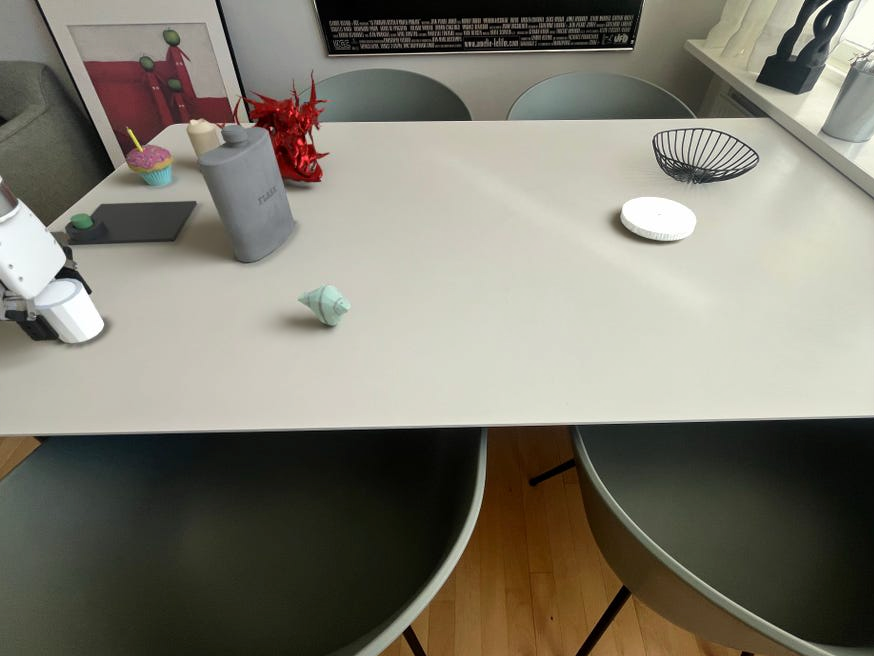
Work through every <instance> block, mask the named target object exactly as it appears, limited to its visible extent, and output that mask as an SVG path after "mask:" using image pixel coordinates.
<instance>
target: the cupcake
mask: <svg viewBox="0 0 874 656" xmlns="http://www.w3.org/2000/svg"><path fill="white" fill-rule="evenodd" d="M125 128H126V131H127V133H128V135H129V137H130V139H131V140H132V141H133V143H134V144H135V146H136V147H135V148H132V149H131V150H130V151H129V152H128V153H127V154H126V158H125V163H126V164H127V166H128V168H129V170H130V171H131V172H133V173H137V174H138V175H139V176H140V177H141V178H142V179H143V180H144V181H145V183H147V184H148V186H149V185H150V186H162V185H166V184H168V183H170V182H171V181H172V179H173V177H172V166H173V165H172V164H173V163H174V158H173V156H172V154H171V152H170V150H168V149H167V148H166V147H161V146H160V145H159V146H158V145H156V144H155V145H154V144H144V145H140V143H139V141H138V139H137V138H136V136H135V134H134V133H133V131H132V130H131V129H130V128H129V127H128V126H125Z"/></svg>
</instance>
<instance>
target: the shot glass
mask: <svg viewBox="0 0 874 656" xmlns="http://www.w3.org/2000/svg"><path fill="white" fill-rule="evenodd" d="M34 302H35V309H36V315H42V316H44V318H45V319H46V320H47V321H48V322H49V323H50V325H51V326H52V327H53V328H54V329H55V330H56V332H57V333H58V334H59V338H58V339H59V340H60V341H62V342H64V343H67V344H78V343H83V342H85V341H88V340H90V339H92V338H94V337H96V336H97V335H99V333H101V332H102V330H103V328H104V326H105V323H104V321H103V319H102V316H101V314H100V313H99V312H98V309H97V307H96V306H95V304H94V303H93V301H92V299H91V297H90V295H88V294H87V292H86V290H85V288H84V286H83V285H82V283H81V282H80V281H78V280H76V279H69V278H66V279H57V280H56V279H52V280H51V281H50V282H49V283H48V285H47V286H46V287H45V288H44V289H43V290H42V291H41V293H40V294H39V295H38V296H37V297H35V298H34Z"/></svg>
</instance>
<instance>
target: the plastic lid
mask: <svg viewBox="0 0 874 656" xmlns="http://www.w3.org/2000/svg"><path fill="white" fill-rule="evenodd" d="M620 221H621V223H622V224H623V226H624V227H625V228H627V229H628V230H629V231H630V232H632V233H634V234H636V235H637V236H640V237H643V238H646V239H649V240H653V241H654V240H656V241H667V242H669V241H670V242H672V241H678V240H682V239H686V238H688V237H689V236H690V235H691V234H692V233H693V231H694V230H695V227H696V224H697V217H696V215H695V213H694V212H693V211H692V210H691V209H690V208H688V207H687V206H685V205H683V204H681V203H679V202H678V201H675V200H672V199H668V198H663V197H656V196H654V197H653V196H642V197H636V198H632V199H630V200H628V201H626V202H625V203H624V204H623V206H622V208H621V212H620Z"/></svg>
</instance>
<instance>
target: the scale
mask: <svg viewBox="0 0 874 656" xmlns="http://www.w3.org/2000/svg"><path fill="white" fill-rule="evenodd" d="M197 205H198V203H197V200H181V201H178V200H177V201H151V202H148V201H147V202H115V203H100V205H99V206H97V208H96V209H95V210H94V211H93V212H92V213H91V214H90V215H89V217H90V219H91V220H92V222H93V225H92V226H90V227H87V228H84V229H76V228H75V226H74V225H73V223H72V222H71V221H69V222H68V223H67V224H66V225H65V226H64V230H65V232H66V234H67V235H68V236H69V239H68V240H67V241H68V244H69V245H68V246H89V245H90V246H91V245H113V244H114V245H115V244H117V245H119V244H120V245H121V244H141V243H142V244H143V243H145V244H146V243H166V242H167V243H169V242H175V241H176V239H177V238H178V236H179V235H180V233H181V231H182V229H183V228H184V226H185V224H186V223H187V221H188V220H189V218H190V216H191V215H192V213H193V212H194V210H195V208H196V206H197Z"/></svg>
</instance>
